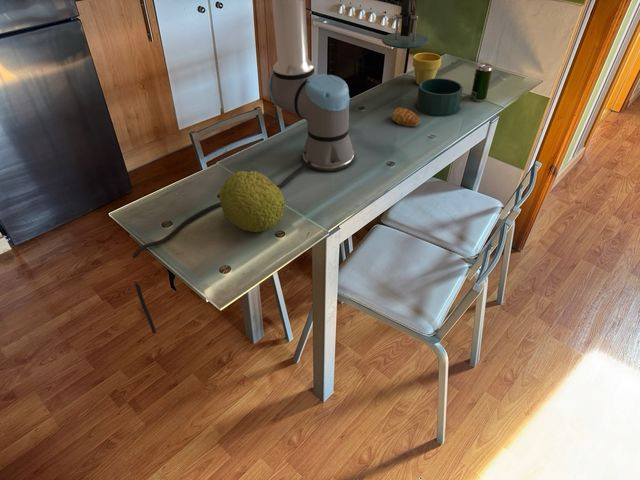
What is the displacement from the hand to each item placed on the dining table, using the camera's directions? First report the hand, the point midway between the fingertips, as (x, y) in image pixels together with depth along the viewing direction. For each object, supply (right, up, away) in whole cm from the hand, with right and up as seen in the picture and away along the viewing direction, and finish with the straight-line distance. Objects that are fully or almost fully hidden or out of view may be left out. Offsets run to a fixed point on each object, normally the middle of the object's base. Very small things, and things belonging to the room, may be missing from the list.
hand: (405, 34), depth 157 cm
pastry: (0, -29, 0) cm, 29 cm away
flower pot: (+12, -8, +25) cm, 29 cm away
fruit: (-45, -65, -41) cm, 89 cm away
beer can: (+28, -18, +12) cm, 36 cm away
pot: (+13, -22, +8) cm, 27 cm away
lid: (0, -2, +1) cm, 2 cm away
